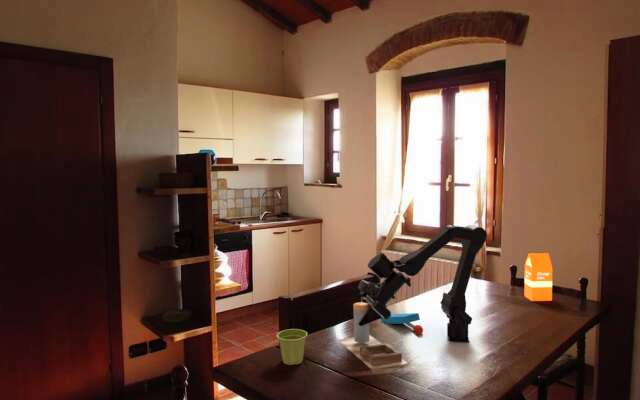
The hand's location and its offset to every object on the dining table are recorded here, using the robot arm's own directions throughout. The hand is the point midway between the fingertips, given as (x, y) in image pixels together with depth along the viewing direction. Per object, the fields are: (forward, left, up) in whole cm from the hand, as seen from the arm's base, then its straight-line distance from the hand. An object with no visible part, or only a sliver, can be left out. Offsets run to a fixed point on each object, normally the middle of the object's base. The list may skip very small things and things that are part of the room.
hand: (357, 322), depth 159 cm
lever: (-13, -22, -9) cm, 27 cm away
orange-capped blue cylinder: (-1, -1, -6) cm, 6 cm away
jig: (-5, +5, -8) cm, 11 cm away
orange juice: (-67, -71, -9) cm, 99 cm away
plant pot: (+18, +16, -9) cm, 25 cm away
